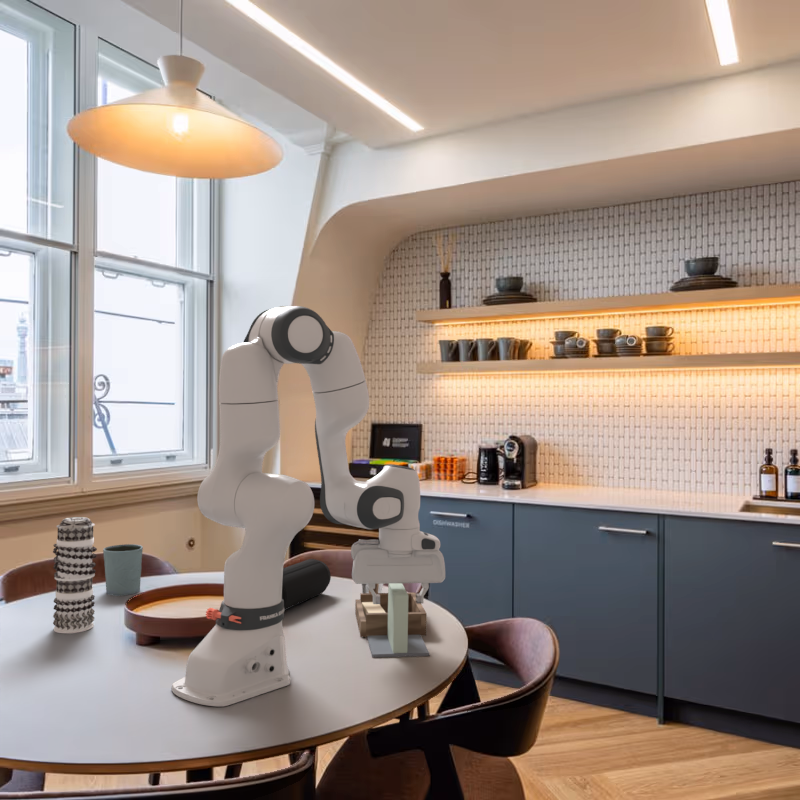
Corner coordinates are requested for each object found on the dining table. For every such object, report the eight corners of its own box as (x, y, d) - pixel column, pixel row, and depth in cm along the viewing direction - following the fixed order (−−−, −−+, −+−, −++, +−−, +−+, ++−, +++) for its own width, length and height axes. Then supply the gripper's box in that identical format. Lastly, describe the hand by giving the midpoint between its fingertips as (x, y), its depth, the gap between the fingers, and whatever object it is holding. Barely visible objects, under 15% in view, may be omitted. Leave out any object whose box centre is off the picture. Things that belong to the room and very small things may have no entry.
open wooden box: (426, 635, 163) (426, 613, 163) (360, 636, 161) (360, 614, 161) (414, 612, 181) (414, 592, 181) (355, 613, 179) (355, 593, 179)
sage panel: (407, 652, 150) (408, 595, 150) (393, 653, 150) (394, 595, 150) (400, 635, 161) (401, 582, 161) (387, 635, 161) (388, 582, 161)
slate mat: (429, 655, 150) (429, 652, 150) (372, 657, 149) (372, 654, 149) (420, 637, 162) (420, 634, 162) (367, 638, 161) (367, 635, 161)
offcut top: (387, 624, 166) (387, 614, 166) (370, 625, 165) (370, 615, 165) (377, 610, 176) (377, 601, 177) (361, 611, 176) (361, 602, 176)
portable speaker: (302, 591, 200) (303, 555, 200) (333, 595, 196) (334, 559, 196) (245, 614, 177) (246, 574, 177) (279, 620, 173) (280, 579, 173)
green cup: (139, 595, 192) (140, 550, 192) (98, 597, 190) (99, 551, 190) (144, 586, 202) (145, 543, 202) (106, 587, 200) (106, 544, 200)
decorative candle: (42, 632, 161) (44, 520, 161) (70, 620, 170) (72, 514, 170) (77, 635, 159) (79, 523, 159) (103, 623, 168) (105, 516, 168)
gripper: (352, 542, 151) (350, 608, 151) (447, 542, 154) (446, 606, 154) (350, 536, 157) (349, 599, 157) (442, 536, 160) (440, 598, 160)
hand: (398, 603), depth 155 cm, fingers open, 8 cm apart
